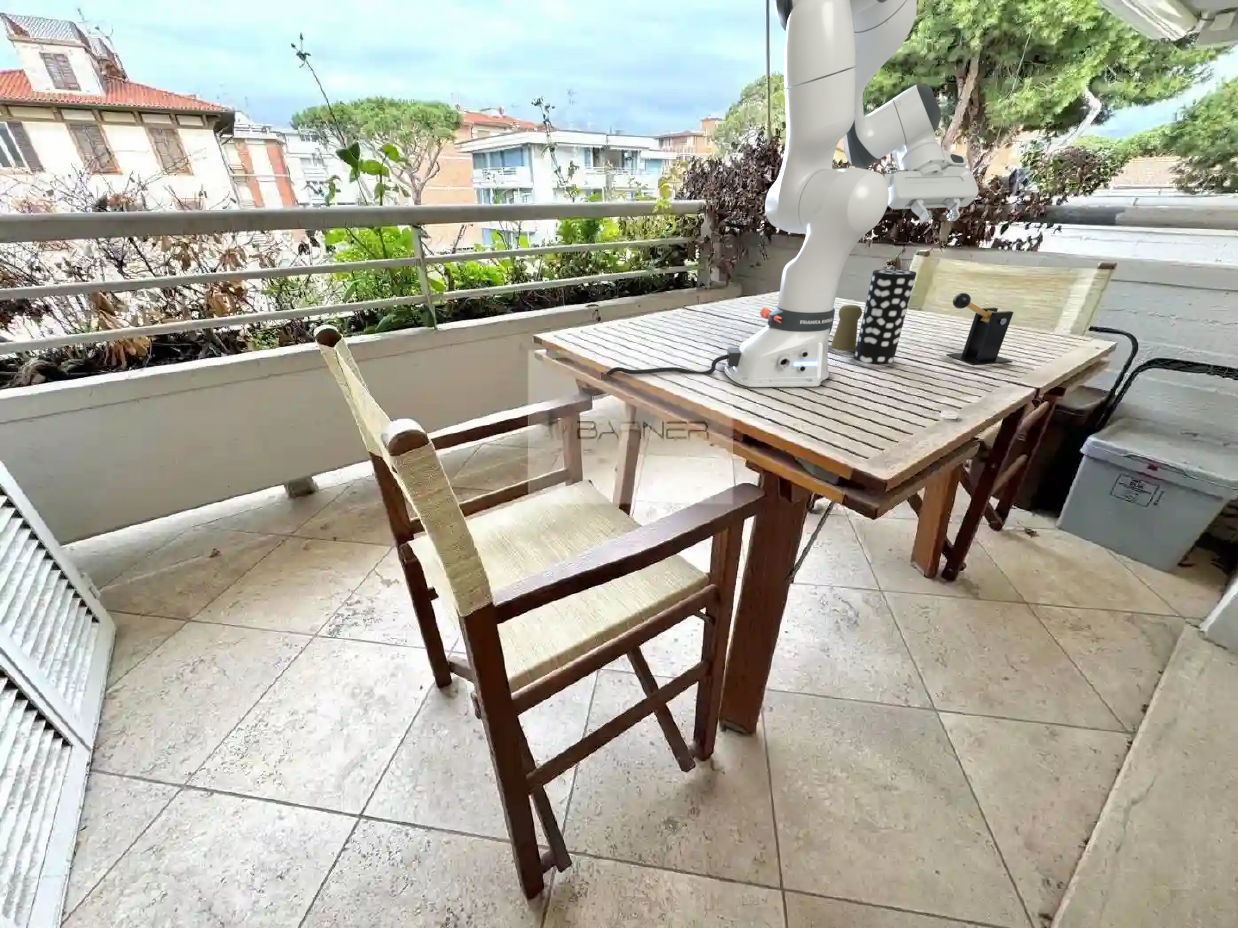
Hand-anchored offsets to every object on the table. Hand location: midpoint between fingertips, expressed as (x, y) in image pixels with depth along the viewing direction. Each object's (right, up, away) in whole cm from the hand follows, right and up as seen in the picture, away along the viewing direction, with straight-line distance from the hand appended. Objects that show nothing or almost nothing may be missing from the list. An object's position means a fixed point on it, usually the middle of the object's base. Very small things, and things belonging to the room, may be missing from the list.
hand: (941, 219), depth 107 cm
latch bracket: (+11, -31, +5) cm, 33 cm away
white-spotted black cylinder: (-12, -31, +6) cm, 34 cm away
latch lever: (+6, -22, -1) cm, 23 cm away
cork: (-15, -26, +16) cm, 33 cm away
